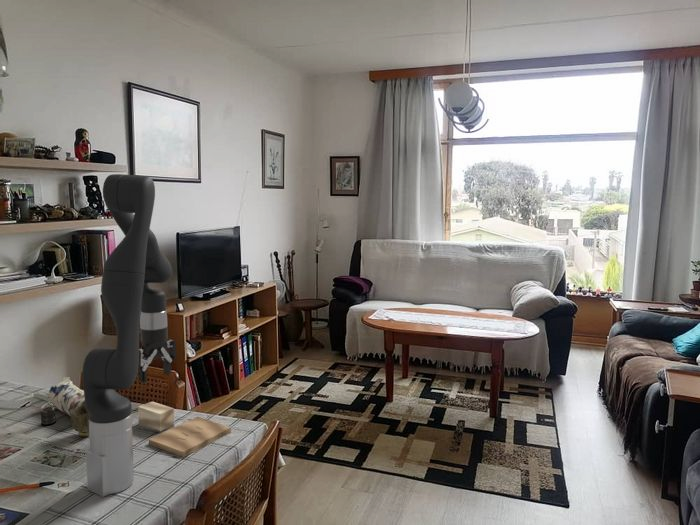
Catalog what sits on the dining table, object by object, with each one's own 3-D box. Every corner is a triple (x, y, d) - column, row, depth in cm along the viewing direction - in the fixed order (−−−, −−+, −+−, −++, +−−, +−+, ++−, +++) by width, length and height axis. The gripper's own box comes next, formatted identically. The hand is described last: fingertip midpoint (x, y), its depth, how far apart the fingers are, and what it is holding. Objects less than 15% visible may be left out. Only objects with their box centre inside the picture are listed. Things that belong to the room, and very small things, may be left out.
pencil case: (47, 410, 163) (46, 381, 162) (75, 402, 170) (74, 374, 169) (78, 429, 150) (76, 397, 148) (106, 420, 156) (105, 390, 155)
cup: (105, 430, 149) (104, 404, 148) (89, 441, 141) (88, 414, 141) (81, 428, 149) (80, 403, 149) (65, 440, 142) (63, 413, 141)
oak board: (183, 457, 134) (183, 451, 134) (148, 444, 141) (148, 439, 141) (231, 432, 149) (231, 427, 149) (197, 421, 156) (197, 416, 156)
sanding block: (160, 433, 148) (160, 414, 147) (138, 425, 153) (138, 406, 152) (174, 427, 152) (173, 408, 151) (152, 419, 157) (152, 401, 156)
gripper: (141, 332, 141) (143, 388, 143) (181, 322, 153) (182, 373, 155) (124, 328, 145) (126, 382, 147) (165, 319, 157) (166, 369, 159)
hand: (155, 378), depth 151 cm, fingers open, 8 cm apart
